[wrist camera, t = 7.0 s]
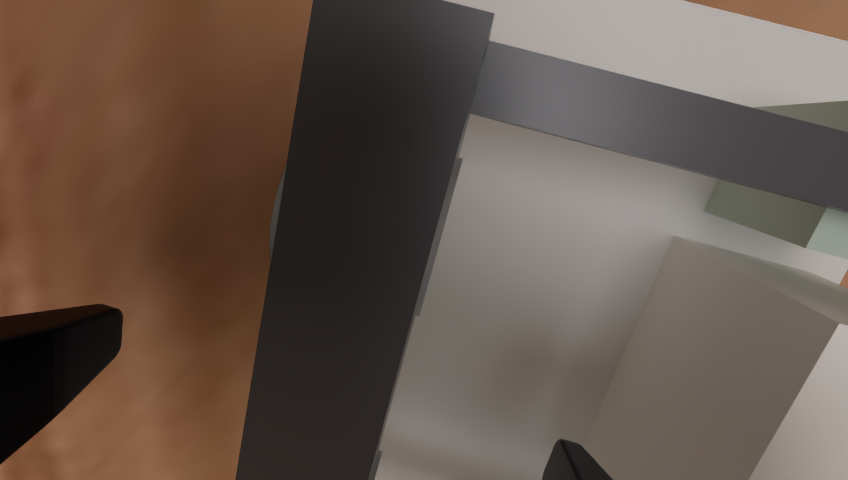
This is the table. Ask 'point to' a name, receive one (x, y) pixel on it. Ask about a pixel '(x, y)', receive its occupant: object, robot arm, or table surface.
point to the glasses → (441, 200)
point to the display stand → (633, 277)
